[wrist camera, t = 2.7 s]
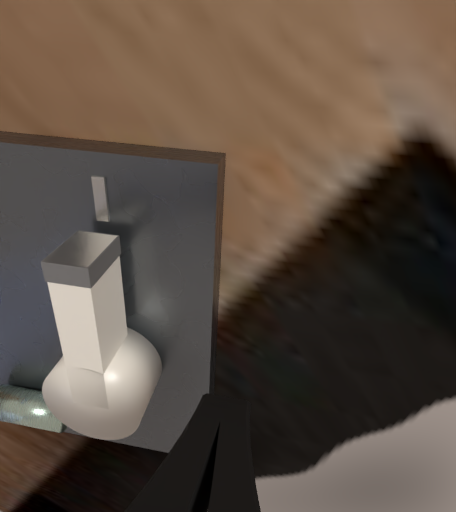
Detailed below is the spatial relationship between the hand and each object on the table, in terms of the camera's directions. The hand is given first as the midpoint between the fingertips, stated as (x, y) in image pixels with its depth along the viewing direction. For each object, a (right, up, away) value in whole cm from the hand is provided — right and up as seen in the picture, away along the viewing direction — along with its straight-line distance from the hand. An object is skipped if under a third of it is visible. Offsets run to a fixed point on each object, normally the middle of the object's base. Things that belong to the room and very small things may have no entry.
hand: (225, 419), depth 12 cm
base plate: (-7, +2, +8) cm, 11 cm away
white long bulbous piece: (-5, +2, +6) cm, 8 cm away
